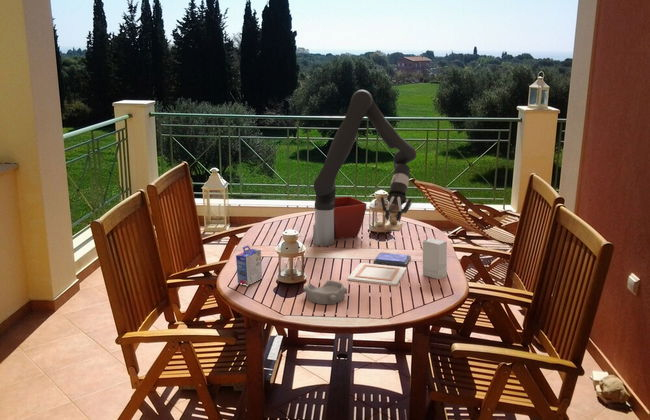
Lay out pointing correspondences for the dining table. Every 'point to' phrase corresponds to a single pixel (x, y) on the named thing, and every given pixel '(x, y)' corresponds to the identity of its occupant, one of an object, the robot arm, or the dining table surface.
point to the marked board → (377, 274)
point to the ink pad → (392, 259)
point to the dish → (326, 293)
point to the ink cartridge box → (249, 266)
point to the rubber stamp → (393, 219)
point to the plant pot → (348, 217)
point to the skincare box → (435, 258)
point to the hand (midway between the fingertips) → (392, 219)
